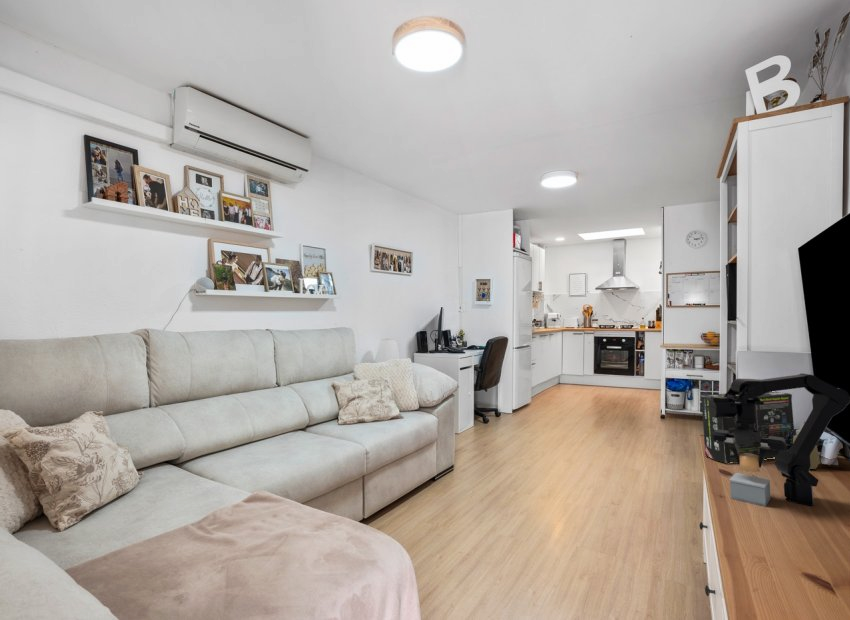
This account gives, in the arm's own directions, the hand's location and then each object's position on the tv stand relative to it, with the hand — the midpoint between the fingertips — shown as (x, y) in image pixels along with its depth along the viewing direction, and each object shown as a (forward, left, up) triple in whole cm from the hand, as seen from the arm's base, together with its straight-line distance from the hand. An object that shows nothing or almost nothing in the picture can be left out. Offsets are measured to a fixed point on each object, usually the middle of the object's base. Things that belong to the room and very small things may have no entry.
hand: (749, 465), depth 139 cm
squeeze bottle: (-9, -48, -11) cm, 51 cm away
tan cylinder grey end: (0, 0, -1) cm, 1 cm away
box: (0, 0, -11) cm, 11 cm away
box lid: (0, 0, -5) cm, 5 cm away
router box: (+9, -50, -11) cm, 52 cm away
